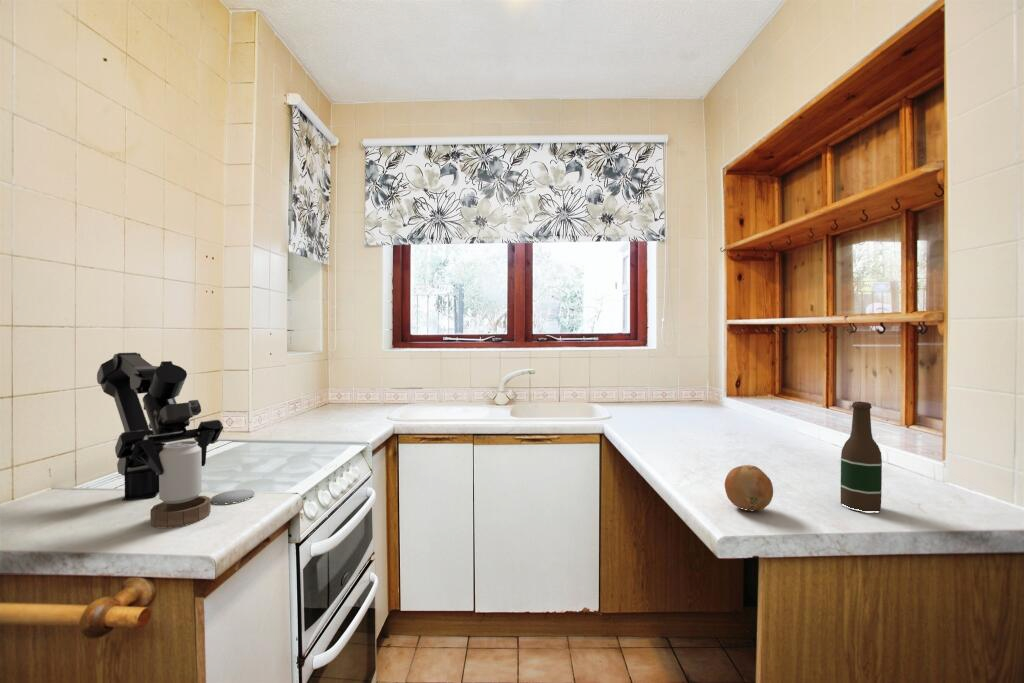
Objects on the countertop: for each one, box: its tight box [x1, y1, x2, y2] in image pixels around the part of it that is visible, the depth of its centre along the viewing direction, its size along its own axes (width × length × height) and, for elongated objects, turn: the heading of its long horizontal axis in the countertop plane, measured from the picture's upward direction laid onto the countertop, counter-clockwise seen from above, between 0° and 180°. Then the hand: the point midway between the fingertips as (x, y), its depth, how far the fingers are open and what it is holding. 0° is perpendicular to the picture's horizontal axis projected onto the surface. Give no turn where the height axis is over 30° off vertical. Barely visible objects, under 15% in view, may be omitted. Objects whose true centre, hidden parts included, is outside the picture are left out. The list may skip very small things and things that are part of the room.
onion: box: [724, 464, 774, 511], centre depth 104 cm, size 10×10×10 cm
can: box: [158, 440, 203, 504], centre depth 99 cm, size 8×8×12 cm
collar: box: [150, 495, 212, 529], centre depth 99 cm, size 10×10×3 cm
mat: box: [210, 489, 255, 505], centre depth 112 cm, size 9×9×1 cm
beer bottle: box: [840, 401, 883, 512], centre depth 104 cm, size 8×8×24 cm
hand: (183, 469), depth 98 cm, fingers closed on can, 7 cm apart
